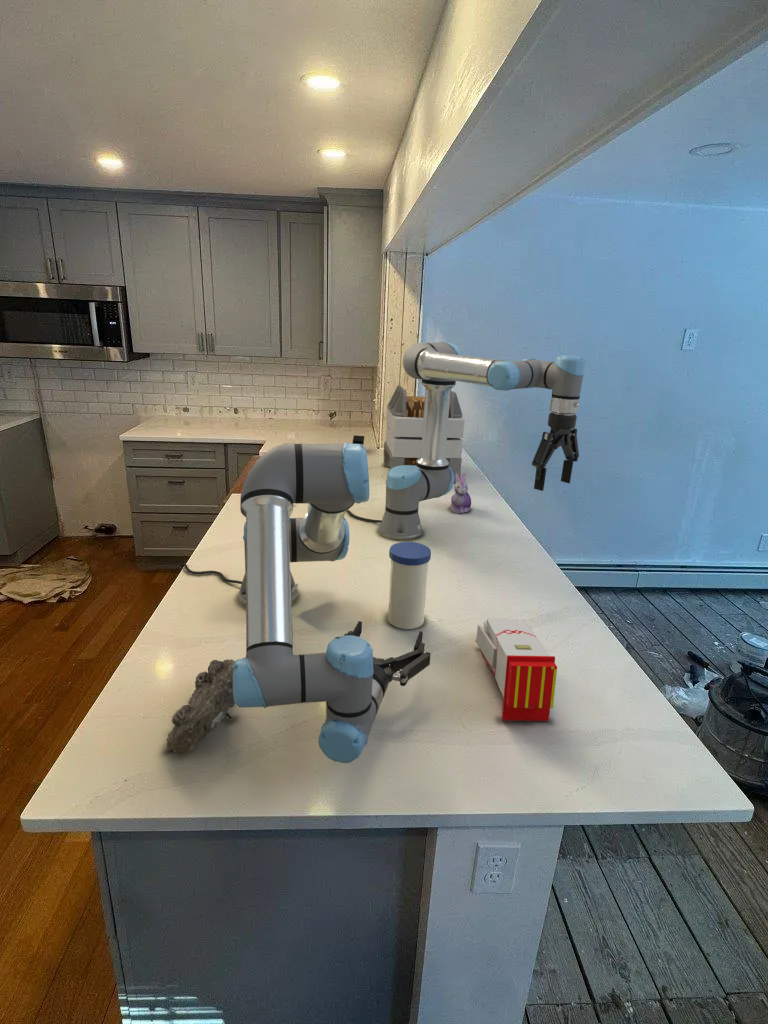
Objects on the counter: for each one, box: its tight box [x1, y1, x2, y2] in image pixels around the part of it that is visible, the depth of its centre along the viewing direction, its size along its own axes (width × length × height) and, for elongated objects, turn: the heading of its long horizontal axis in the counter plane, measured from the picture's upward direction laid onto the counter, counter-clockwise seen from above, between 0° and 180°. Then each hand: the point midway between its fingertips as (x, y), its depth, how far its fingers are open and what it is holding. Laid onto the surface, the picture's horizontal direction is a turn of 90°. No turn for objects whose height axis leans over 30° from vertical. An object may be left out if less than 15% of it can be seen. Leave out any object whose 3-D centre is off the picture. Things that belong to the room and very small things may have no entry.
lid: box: [388, 541, 432, 565], centre depth 139 cm, size 10×10×2 cm
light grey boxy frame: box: [383, 384, 465, 484], centre depth 268 cm, size 34×33×41 cm
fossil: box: [166, 658, 236, 754], centre depth 106 cm, size 22×10×15 cm
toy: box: [475, 618, 558, 722], centre depth 122 cm, size 12×13×30 cm
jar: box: [387, 559, 429, 630], centre depth 142 cm, size 9×9×19 cm
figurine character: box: [352, 435, 365, 446], centre depth 310 cm, size 7×8×15 cm
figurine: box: [449, 472, 472, 514], centre depth 224 cm, size 9×10×15 cm
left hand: (390, 631), depth 124 cm, fingers open, 13 cm apart
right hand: (552, 485), depth 166 cm, fingers open, 13 cm apart
